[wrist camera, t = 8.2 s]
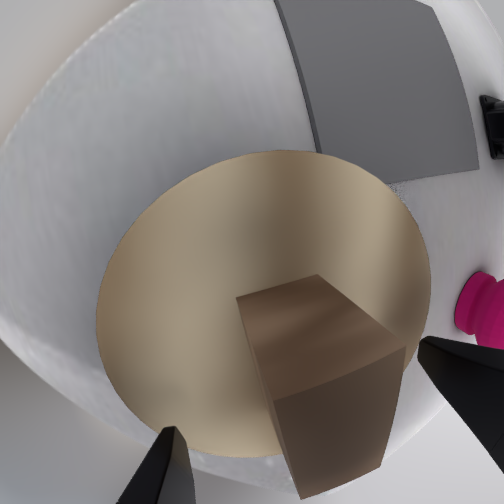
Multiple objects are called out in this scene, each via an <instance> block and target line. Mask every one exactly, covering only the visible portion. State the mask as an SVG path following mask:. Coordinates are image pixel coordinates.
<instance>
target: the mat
mask: <svg viewBox="0 0 504 504" xmlns="http://www.w3.org/2000/svg"><path fill="white" fill-rule="evenodd" d="M274 1H275V4H276V7H277V9H278V12H279V15H280V18H281V21H282V24H283V26H284V29H285V32H286V35H287V39H288V42H289V45H290V48H291V51H292V54H293V58H294V61H295V64H296V68H297V71H298V75H299V78H300V82H301V86H302V90H303V93H304V97H305V101H306V105H307V109H308V113H309V117H310V121H311V126H312V130H313V135H314V139H315V144H316V148H317V153H320V154H324V155H329V156H333V157H336V158H339V159H342V160H344V161H347V162H349V163H352V164H354V165H357V166H359V167H360V168H362V169H364V170H365V171H367V172H369V173H370V174H372V175H374V176H375V177H377V178H378V179H379V180H381V181H382V182H383V183H384V184H390V183H395V182H401V181H407V180H413V179H419V178H425V177H431V176H437V175H444V174H450V173H457V172H464V171H471V170H478V169H479V160H478V152H477V146H476V139H475V134H474V128H473V123H472V118H471V114H470V110H469V105H468V101H467V98H466V94H465V90H464V87H463V83H462V80H461V77H460V74H459V71H458V68H457V65H456V62H455V59H454V56H453V54H452V51H451V48H450V46H449V43H448V41H447V38H446V36H445V34H444V32H443V29H442V27H441V25H440V23H439V21H438V19H437V16H436V14H435V12H434V10H433V8H432V7H430V6H428V5H425V4H423V3H421V2H418V1H416V0H274Z"/></svg>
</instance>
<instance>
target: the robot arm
mask: <svg viewBox="0 0 504 504" xmlns="http://www.w3.org/2000/svg"><path fill="white" fill-rule="evenodd" d="M480 98H481V102H482V106H483V110H484V115H485V120H486V124H487V130H488V135H489V141H490V148H491V155H492V158H493V159H504V101H501V100H499V99H496V98H493V97H490V96H487V95H481V97H480ZM417 358H418V361H419V363H420V364H421V366H422V367H423V369H424V370H425V372H426V373H427V375H428V376H429V378H430V379H431V381H432V382H433V384H434V385H435V386H436V388H437V389H438V390H439V392H440V393H441V394H442V395H443V396H444V398H445V399H446V400H447V401H448V402H449V404H450V405H451V406H452V407H453V408H454V410H455V411H456V412H457V413H458V414H459V416H460V417H461V418H462V419H463V421H464V422H465V423H466V424H467V426H468V427H469V428H470V429H471V431H472V432H473V433H474V435H475V436H476V437H477V438H478V440H479V441H480V442H481V444H482V445H483V446H484V448H485V449H486V450H487V451H488V453H489V454H490V456H491V457H492V458H493V460H494V461H495V462H496V464H497V465H498V467H499V468H500V469H501V471H502V472H503V474H504V349H498V348H492V347H486V346H481V345H475V344H470V343H464V342H459V341H454V340H449V339H444V338H439V337H434V336H427V337H425V338H423V339H421V340H420V342H419V349H418V355H417ZM116 504H196V500H195V488H194V479H193V474H192V469H191V464H190V459H189V453H188V448H187V443H186V440H185V438H184V437H183V435H182V434H181V433H180V431H179V430H178V428H177V427H176V426H167V427H164V428H163V429H162V430H161V432H160V434H159V435H158V437H157V438H156V440H155V442H154V443H153V445H152V447H151V448H150V450H149V451H148V453H147V455H146V456H145V458H144V460H143V461H142V463H141V464H140V466H139V468H138V469H137V471H136V472H135V474H134V476H133V477H132V479H131V480H130V482H129V484H128V485H127V487H126V488H125V490H124V492H123V493H122V495H121V496H120V498H119V499H118V502H117V503H116Z"/></svg>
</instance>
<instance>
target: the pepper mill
mask: <svg viewBox="0 0 504 504" xmlns="http://www.w3.org/2000/svg"><path fill="white" fill-rule="evenodd" d="M455 323H456V326H457V327H458V328H459V329H460V330H462V331H463V332H465V333H467V334H468V335H473V334H475V337H476V341H477V344H478V345H481V346H486V347H492V348H498V349H504V279H503V280H500V281H499V282H496V279H495V278H494V277H493V276H491V275H489V274H486V273H484V272H477V273H475V274H474V275H473V276H472V277H471V278H470V279H469V280H468V282H467V283H466V285H465V286H464V288H463V290H462V292H461V294H460V297H459V299H458V303H457V306H456V310H455Z"/></svg>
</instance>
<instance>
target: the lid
mask: <svg viewBox="0 0 504 504" xmlns="http://www.w3.org/2000/svg"><path fill="white" fill-rule="evenodd" d="M430 295H431V274H430V266H429V258H428V254H427V250H426V246H425V243H424V240H423V237H422V235H421V232H420V230H419V228H418V225H417V223H416V222H415V220H414V218H413V217H412V215H411V213H410V212H409V210H408V208H407V207H406V206H405V204H404V203H403V202H402V201H401V200H400V198H399V197H398V196H397V195H396V194H395V193H394V192H393V191H392V190H391V189H390V188H389V187H388V186H387V185H385V184H384V183H383V182H382V181H381V180H379V179H378V178H377V177H375V176H374V175H372V174H370V173H369V172H367V171H365V170H364V169H362V168H360V167H359V166H357V165H354V164H352V163H349V162H347V161H344V160H342V159H339V158H336V157H333V156H329V155H324V154H320V153H315V152H310V151H294V150H275V151H266V152H257V153H250V154H246V155H242V156H239V157H235V158H231V159H228V160H225V161H221V162H218V163H216V164H214V165H212V166H209V167H207V168H205V169H203V170H201V171H199V172H196V173H194V174H192V175H190V176H189V177H187V178H186V179H184V180H182V181H181V182H179V183H178V184H176V185H175V186H173V187H172V188H170V189H169V190H167V191H166V192H165V193H163V194H162V195H161V196H160V197H159V198H158V199H157V200H155V201H154V202H153V203H152V204H151V205H150V206H149V207H148V208H147V209H146V210H145V211H144V212H143V213H141V215H140V216H139V217H138V218H137V219H136V221H135V222H134V223H133V225H132V226H131V227H130V228H129V230H128V231H127V232H126V234H125V235H124V236H123V237H122V239H121V241H120V243H119V244H118V246H117V248H116V250H115V252H114V254H113V255H112V257H111V259H110V261H109V263H108V266H107V269H106V272H105V275H104V277H103V280H102V283H101V286H100V291H99V297H98V303H97V310H96V335H97V341H98V347H99V352H100V357H101V360H102V362H103V365H104V368H105V371H106V374H107V376H108V378H109V380H110V382H111V383H112V385H113V387H114V389H115V391H116V392H117V394H118V395H119V397H120V398H121V399H122V401H123V402H124V403H125V405H126V406H127V407H128V408H129V409H130V410H131V411H132V412H133V413H134V414H135V415H136V416H137V417H138V418H139V419H140V420H141V421H142V422H143V423H145V424H146V425H147V426H148V427H150V428H151V429H152V430H154V431H155V432H157V433H158V434H160V432H161V430H162V429H163V428H164V427H167V426H176V427H177V428H178V430H179V431H180V433H181V434H182V435H183V437H184V438H185V440H186V443H187V448H190V449H193V450H196V451H200V452H203V453H207V454H213V455H218V456H226V457H238V458H249V457H264V456H273V455H278V454H283V455H284V457H285V460H286V463H287V465H288V468H289V471H290V473H291V476H292V478H293V481H294V484H295V486H296V489H297V491H298V494H299V496H300V499H301V500H302V499H305V498H308V497H311V496H314V495H317V494H320V493H322V492H325V491H328V490H330V489H333V488H335V487H338V486H340V485H343V484H345V483H347V482H350V481H352V480H354V479H356V478H358V477H361V476H363V475H365V474H367V473H369V472H371V471H373V470H375V469H377V468H379V467H380V465H381V462H382V459H383V456H384V453H385V449H386V446H387V443H388V439H389V435H390V432H391V428H392V424H393V420H394V415H395V411H396V406H397V402H398V397H399V392H400V386H401V381H402V375H403V372H404V370H405V369H406V367H407V365H408V364H409V362H410V361H411V359H412V357H413V355H414V352H415V350H416V348H417V346H418V344H419V341H420V339H421V336H422V333H423V330H424V327H425V323H426V319H427V315H428V310H429V303H430Z"/></svg>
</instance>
